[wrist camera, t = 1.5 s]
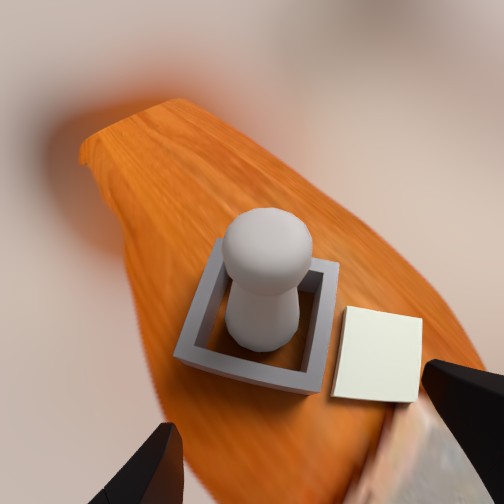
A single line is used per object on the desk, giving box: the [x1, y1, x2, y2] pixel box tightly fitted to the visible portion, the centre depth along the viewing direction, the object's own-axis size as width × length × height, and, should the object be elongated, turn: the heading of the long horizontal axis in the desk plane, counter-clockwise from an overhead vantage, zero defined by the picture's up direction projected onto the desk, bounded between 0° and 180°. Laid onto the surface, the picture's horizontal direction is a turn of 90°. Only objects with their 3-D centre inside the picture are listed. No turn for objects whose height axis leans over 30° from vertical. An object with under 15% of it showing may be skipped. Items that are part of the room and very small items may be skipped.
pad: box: [331, 306, 422, 403], centre depth 20 cm, size 8×8×1 cm
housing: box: [173, 238, 339, 395], centre depth 21 cm, size 10×10×4 cm
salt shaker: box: [221, 208, 312, 352], centre depth 17 cm, size 6×6×13 cm
